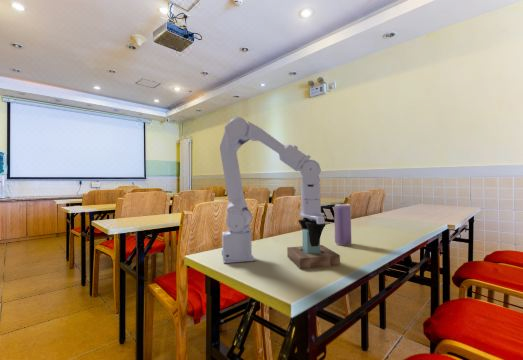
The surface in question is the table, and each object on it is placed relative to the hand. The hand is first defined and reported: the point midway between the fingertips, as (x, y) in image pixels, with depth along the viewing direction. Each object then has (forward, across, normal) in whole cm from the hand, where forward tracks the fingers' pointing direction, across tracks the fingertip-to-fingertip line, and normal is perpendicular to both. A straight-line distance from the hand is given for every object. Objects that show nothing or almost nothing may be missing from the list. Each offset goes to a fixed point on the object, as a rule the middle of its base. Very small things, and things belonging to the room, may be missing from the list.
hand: (311, 244), depth 78 cm
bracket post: (+4, 0, 0) cm, 4 cm away
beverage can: (+5, +16, -19) cm, 25 cm away
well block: (+5, 0, 0) cm, 5 cm away
